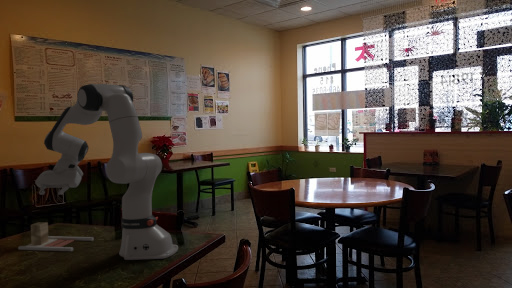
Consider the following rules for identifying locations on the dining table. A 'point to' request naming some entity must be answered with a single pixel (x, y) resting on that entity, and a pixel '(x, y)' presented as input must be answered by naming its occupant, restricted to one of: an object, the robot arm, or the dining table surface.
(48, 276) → the dining table surface
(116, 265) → the dining table surface
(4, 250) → the dining table surface
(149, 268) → the dining table surface
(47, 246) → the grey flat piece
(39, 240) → the maple block
